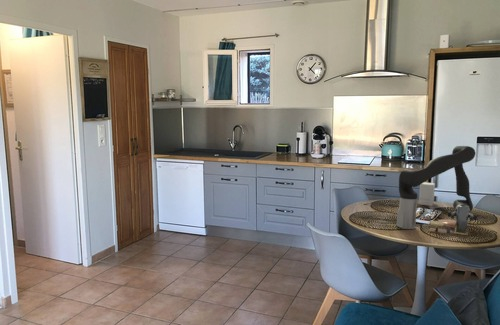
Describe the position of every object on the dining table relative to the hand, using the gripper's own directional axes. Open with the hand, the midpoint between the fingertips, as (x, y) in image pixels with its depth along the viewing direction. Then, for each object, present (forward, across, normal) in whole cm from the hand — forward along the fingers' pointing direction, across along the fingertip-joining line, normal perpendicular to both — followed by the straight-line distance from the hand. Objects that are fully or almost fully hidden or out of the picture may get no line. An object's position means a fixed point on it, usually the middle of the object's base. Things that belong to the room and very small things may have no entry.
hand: (461, 218), depth 218 cm
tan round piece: (-21, -5, +10) cm, 24 cm away
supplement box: (-70, -23, +10) cm, 74 cm away
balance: (-2, -6, +10) cm, 12 cm away
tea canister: (-2, 0, +8) cm, 8 cm away
